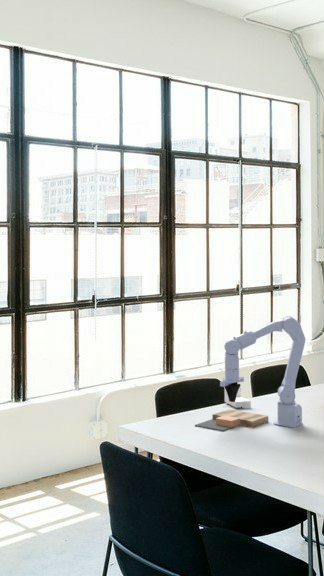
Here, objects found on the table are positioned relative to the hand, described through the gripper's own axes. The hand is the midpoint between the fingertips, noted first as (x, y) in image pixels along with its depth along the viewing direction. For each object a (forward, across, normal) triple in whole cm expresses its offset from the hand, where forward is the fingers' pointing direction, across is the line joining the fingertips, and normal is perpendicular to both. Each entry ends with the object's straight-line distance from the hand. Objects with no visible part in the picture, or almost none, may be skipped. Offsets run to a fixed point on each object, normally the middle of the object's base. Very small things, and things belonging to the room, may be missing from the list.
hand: (232, 401), depth 279 cm
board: (+9, -6, 0) cm, 11 cm away
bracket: (+10, -30, -17) cm, 36 cm away
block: (+9, +3, 0) cm, 9 cm away
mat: (+9, +6, -3) cm, 12 cm away
